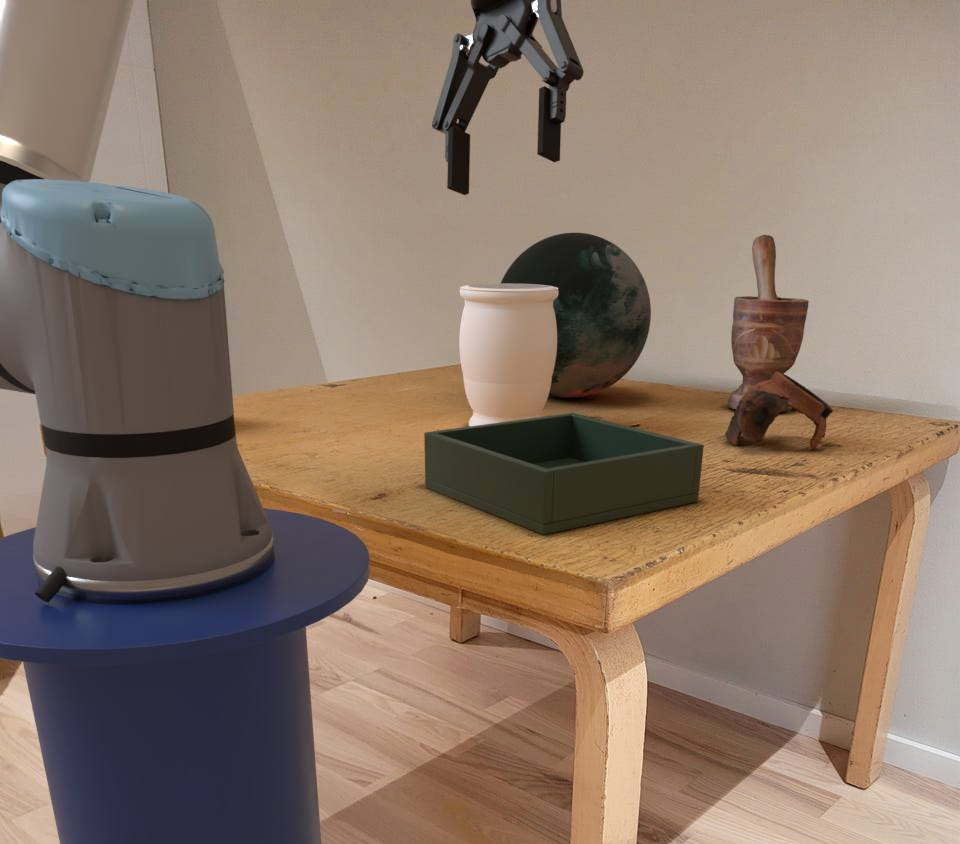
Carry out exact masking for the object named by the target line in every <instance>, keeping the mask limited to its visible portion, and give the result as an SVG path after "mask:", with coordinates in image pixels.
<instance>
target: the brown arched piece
mask: <svg viewBox="0 0 960 844" xmlns="http://www.w3.org/2000/svg"><path fill="white" fill-rule="evenodd" d="M782 399H784V400H787V406H788V408H789V407H790V410H789V411H790V412H791V413H795V412H797V413H799V414H802V415H804V416H805V417H806V418H807V419H809V420H810V421H811V422H813V424H814V425H815V429H814V433H813V435H812V437H811V438H810V441H809V447H810V448H811V450H816V449H817V448H818V446H819V444H821V442H822V440H823V438H825V437H826V431H827V419H828V417H829V416H830V415H831V414H832V413H833V412H834V410H833V408H831V406H830V405H829V404H828V403H827V402H825V400H823V399H822V398H820V397H819V396H818V395H816V394H815V393H813V392H812V391H811V390H810V389H808V388H806V387H805V386H804V385H802V384H800V383H799V382H798V381H796V380H795V379H793V378H792V377H790V376H788V375H787V374H785V373H784V374H782V373H779V372H777V371H776V372H775V373H774V375H773V376H772V378H771V379H770V380H767V381H763V382H761V383H757V384H756V385H755V386H752V387H751V388H750V390H749V391H747V392H746V394H745V395H744V396H743V397H742V400H740V401H739V405H738V406H737V409H735V410H734V411H733V415H732V416H731V420H730V421H729V425H728V427H727V430H726V432H725V434H724V435H725V438H726V439H727V440H728V441H729V442H730V443H731V444H733V445H734V446H738V445H739V443H740V440H741V436H742V437H743V439H744V440H745V441H746V442H751V443H761V442H762V441H763V439H764V437H765V435H766V433H767V431H768V429H769V427H770V426H771V425H772V424H773V423H774V421H775V419H776V418H777V417H778V416H779V415H780V414H781V408H782V406H783V401H782Z"/></svg>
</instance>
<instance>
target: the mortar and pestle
mask: <svg viewBox="0 0 960 844" xmlns="http://www.w3.org/2000/svg"><path fill="white" fill-rule="evenodd" d="M751 253H752V262H753V268H754V273H755V277H756V278H755V279H756V287H757V296H753V295H751V296H749V295H746V296H735V297H734V299H733V312H732V326H731V339H730V340H731V341H730V342H731V352H732V359H733V363H734V365H735V367H736V368H737V369H738V371H739V373H740V375H742V376H741V377H742V382H741V384H740V386H738V389H735V390H734V391H732V392H731V394H730V396H729V398H728V400H727V407H728V408H729V409H732V410H736V409H737V406H738V405H739V401H740V400H742V397H743V396H744V395H745V394H746V392H747V391H749V390H750V388H751V387H752V386H755V385H756V384H757V383H761V382H763V381H767V380H770V379H771V378H772V376H773V375H774V373H775V372H776V371H777V372H779V373H782V374H785V373H787V372H788V371H789V370H791V368H792V367H793V366H794V365H795V364H796V360H797V357H798V355H799V353H800V350H801V346H802V343H803V339H804V335H805V326H806V321H807V317H808V316H807V315H808V310H809V303H810V301H809V300H808V299H805V298H796V297H795V298H792V297H791V298H790V297H781V296H778V295H777V291H776V261H777V251H776V242H775V239H774V237H773V236H772V235H767V234H762V235H758V236H757V237H755V238H754V240H753V242H752V246H751ZM782 401H783V406H782V408H781V412H787V411H789V406H787V401H788V400H784V399H782ZM781 412H780V413H781Z"/></svg>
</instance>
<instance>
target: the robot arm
mask: <svg viewBox="0 0 960 844" xmlns="http://www.w3.org/2000/svg"><path fill="white" fill-rule="evenodd" d="M134 1H135V0H0V390H7V391H13V392H18V393H24V394H29V395H35V399H36V405H37V411H38V416H39V422H40V425H41V431H42V438H43V443H44V449H45V457H46V464H45V471H44V476H43V481H42V482H43V483H42V488H41V495H40V500H39V505H38V506H39V507H38V513H37V518H36V525H35V527H36V530H35V536H34V542H33V559H34V565H35V570H36V575H37V580H38V582H39V584H40V585H41V586H40V587H39V588H38V589H37V590H36V592H35V594H36V596H37V597H39V598H40V599H41V600H43V601H45V602H48V603H49V602H50V600H51V599H52V598H53V597H54V596H55V595H59V596H62V597H65V598H69V599H73V600H78V601H85V602H92V603H104V604H145V603H158V602H168V601H175V600H182V599H188V598H194V597H199V596H204V595H208V594H212V593H216V592H219V591H223V590H226V589H229V588H232V587H235V586H238V585H240V584H243V583H245V582H247V581H249V580H251V579H253V578H255V577H257V576H258V575H260V574H261V573H263V572H264V571H265V570H267V569H268V568H269V567H270V566H271V564H272V563H273V560H274V543H273V534H272V531H271V527H270V523H269V521H268V518H267V516H266V514H265V511H264V509H263V508H264V507H263V504H262V502H261V499H260V498H259V495H258V493H257V491H256V487H255V486H254V483H253V481H252V478H251V476H250V474H249V472H248V469H247V467H246V465H245V462H244V460H243V458H242V455H241V452H240V450H239V447H238V440H237V432H236V424H235V411H234V399H233V385H232V373H231V372H232V371H231V359H230V358H231V357H230V347H229V333H228V321H227V306H226V294H225V279H224V278H225V277H224V276H225V275H224V274H225V271H224V268H223V265H222V264H221V262H220V256H219V249H218V244H217V237H216V230H215V227H214V223H213V220H212V218H211V216H210V215H209V213H208V212H207V211H206V210H205V208H204V207H203V206H201V204H199V203H198V202H196V201H194V200H192V199H190V198H188V197H184V196H182V195H178V194H174V193H170V192H164V191H159V190H154V189H147V188H141V187H135V186H123V185H116V184H115V185H113V184H108V183H100V182H92V181H91V179H92V175H93V171H94V167H95V163H96V158H97V154H98V150H99V147H100V142H101V137H102V135H103V129H104V126H105V121H106V117H107V113H108V109H109V105H110V100H111V97H112V92H113V88H114V84H115V80H116V76H117V73H118V69H119V64H120V60H121V55H122V52H123V46H124V42H125V39H126V34H127V31H128V27H129V23H130V18H131V15H132V10H133V7H134V6H133V5H134ZM470 7H471V8H472V12H473V14H474V17H475V25H474V29H473V31H472V33H471V34H468V35H463V34H462V33H458V32H457V33H456V34H455V35H454V37H453V41H452V51H451V58H450V62H449V64H448V68H447V71H446V75H445V79H444V82H443V85H442V88H441V92H440V94H439V99H438V102H437V105H436V108H435V112H434V116H433V119H432V121H431V122H432V123H431V127H432V129H434V130H436V131H438V132H440V133H443V134H444V135H445V137H444V138H445V143H444V145H445V146H444V147H445V148H444V149H445V150H444V159H445V162H446V163H447V177H446V179H447V180H446V181H447V183H446V185H447V186H446V187H447V189H448V190H451V191H452V192H455V193H457V194H460V195H462V196H466V195H469V194H470V171H471V170H470V165H471V163H470V162H471V134H470V133H468V132H466V130H467V129H468V126H469V125H470V123H471V121H472V118H473V116H474V114H475V112H476V110H477V107H478V105H479V104H480V101H481V99H482V97H483V95H484V93H485V91H486V88H487V87H488V85H489V82H490V80H492V79H494V78H496V76H497V74H498V72H499V69H503V68H505V67H506V66H507V65H509V64H510V63H512V62H517V61H519V60H521V59H522V55H523V56H524V58H525V59H526V60H527V62H529V64H530V65H531V66H532V67H533V69H534V70H535V71H536V72H537V74H538V75H539V76H540V77H541V78H542V79H541V82H543V83H545V84H546V85H548V87H547V86H545V85H544V86H541V87H540V88H538V116H537V117H538V119H537V152H536V154H537V155H538V156H539V157H541V158H544V159H546V160H548V161H550V162H553V163H558V162H559V161H561V139H562V138H561V137H562V135H561V134H562V124H563V123H565V121H566V116H567V111H566V110H567V92H568V91H569V89H570V85H571V84H572V83H573V82H574V81H580V80H581V79H582V78H583V76H584V73H585V72H584V67H583V66H582V63H581V61H580V58H579V56H578V53H577V51H576V48H575V46H574V44H573V41H572V39H571V37H570V34H569V31H568V29H567V27H566V24H565V21H564V19H563V12H562V9H563V8H562V0H470ZM539 22H540V25H541V27H542V30H543V32H544V34H545V37H546V40H547V42H548V44H549V47H550V49H551V52H552V55H553V58H554V59H555V62H556V64H557V65H556V64H555V62H554V61H553V60H552V59H551V57H549V55H548V54H547V53H546V51H545V49H543V46H542V45H541V43H540V42H539V41H538V40H537V38H536V37H535V36H534V34H533V33H534V31H535V29H536V27H537V24H538V23H539ZM481 58H482V59H483V61H484V62H485V63H487V64H488V65H485V64H484V63H481V62H480V60H481Z"/></svg>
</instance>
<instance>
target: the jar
mask: <svg viewBox="0 0 960 844" xmlns="http://www.w3.org/2000/svg"><path fill="white" fill-rule="evenodd" d="M558 294H559V292H558V288H557V287H553V286H548V285H538V284H511V283H501V282H500V283H476V284H475V283H473V284H467V285H461V286H459V296H460V297H461V298H462V299H463V300H464V306H463V310H462V314H461V319H460V324H459V325H460V326H459V336H458V337H459V338H458V339H459V341H458V344H459V345H458V346H459V349H458V350H459V359H460V366H461V367H460V368H461V372H462V378H463V379H462V380H463V387H464V391H465V392H464V393H465V396H466V399H467V402H468V404H469V407H470V408H471V410H472V415H471V417H470V419H469V420H468V427H469V426H477V425H485V424H492V423H500V422H507V421H515V420H522V419H530V418H538V417H542V416H541V412H542V411H543V409H544V407H545V405H546V403H547V401H548V398H549V396H550V395H549V392H550V387H551V381H552V374H553V370H554V366H555V360H556V352H557V325H556V317H555V312H554V308H553V300H555V299H556V298H557V297H558Z"/></svg>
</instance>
